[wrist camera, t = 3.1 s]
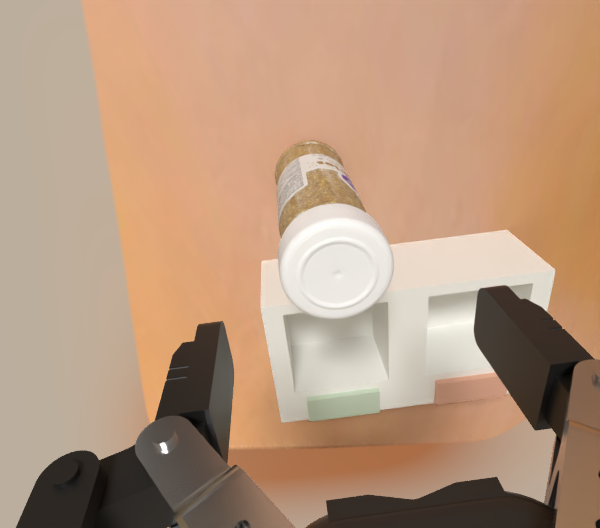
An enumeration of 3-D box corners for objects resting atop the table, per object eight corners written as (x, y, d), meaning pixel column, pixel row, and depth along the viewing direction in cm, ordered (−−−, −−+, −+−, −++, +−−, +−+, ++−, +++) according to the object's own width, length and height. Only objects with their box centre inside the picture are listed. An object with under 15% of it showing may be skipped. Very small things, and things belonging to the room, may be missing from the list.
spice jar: (356, 166, 28) (421, 264, 17) (313, 218, 30) (344, 341, 18) (302, 123, 27) (330, 196, 15) (259, 180, 28) (255, 288, 17)
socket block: (506, 229, 31) (559, 273, 26) (491, 341, 36) (532, 398, 31) (261, 260, 31) (260, 311, 26) (279, 368, 36) (282, 431, 31)
